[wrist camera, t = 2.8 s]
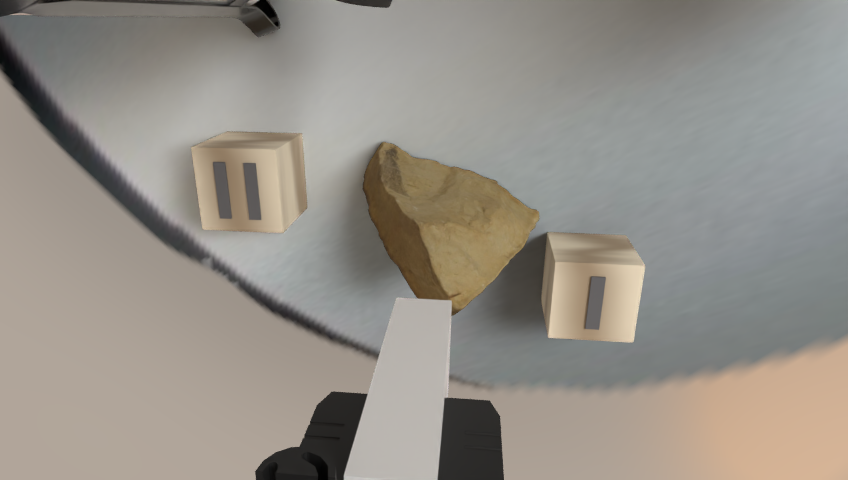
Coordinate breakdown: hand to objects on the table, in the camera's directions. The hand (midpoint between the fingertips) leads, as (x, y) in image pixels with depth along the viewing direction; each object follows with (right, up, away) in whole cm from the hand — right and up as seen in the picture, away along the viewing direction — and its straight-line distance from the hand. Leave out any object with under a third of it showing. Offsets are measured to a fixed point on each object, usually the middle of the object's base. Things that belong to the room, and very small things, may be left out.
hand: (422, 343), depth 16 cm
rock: (+2, +6, +22) cm, 23 cm away
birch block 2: (+11, +1, +23) cm, 25 cm away
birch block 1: (-10, +7, +22) cm, 26 cm away
